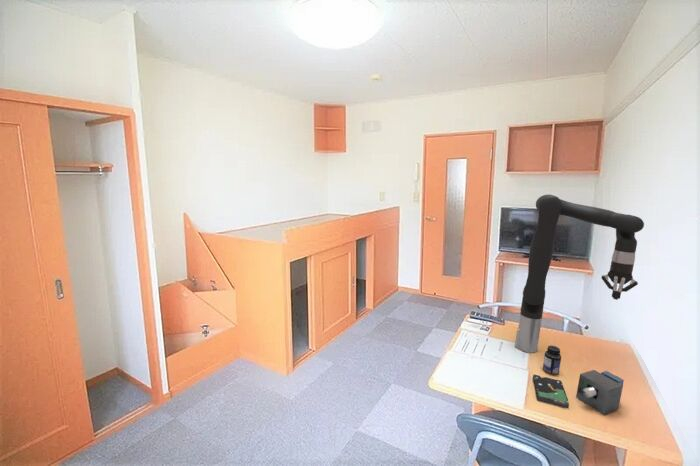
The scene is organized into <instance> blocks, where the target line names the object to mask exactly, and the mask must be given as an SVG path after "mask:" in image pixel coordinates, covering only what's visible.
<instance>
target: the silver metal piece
mask: <svg viewBox="0 0 700 466" xmlns="http://www.w3.org/2000/svg"><path fill="white" fill-rule="evenodd" d="M600 373H601V374H603V375H605V376H606V377H608V378H610V379H612V380H614V381H616V382H617V383H619V384H621V385H623V386H624V381H625V379H623V378H620V377H619V376H617V375H615V374H613V373H612V372H610V371H608V370H605V371H602V372H600ZM582 393H583V395H584V396H585V397H587V398H590V397H593V396H596V395H597V394H598V390H597V389H596V388H594V387H588V388H585V389H583V390H582Z"/></svg>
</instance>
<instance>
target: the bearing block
mask: <svg viewBox="0 0 700 466" xmlns="http://www.w3.org/2000/svg"><path fill="white" fill-rule="evenodd" d="M578 378H579V379H578V385H577V390H576V397H575V398H576V399H578V400H580V401H582V402H583V403H584V404H586V405H587V406H589V407H590V408H592V409H594V410H595V411H597V412H598V413H600V415H603V416H605V414H606V415H608V414H611V413H614V412H616V411H619V407H620V402H621V397H622V393H623V387H624V384H623V385H621V384H619V383H617V382H616V381H614V380H612V379H610V378H608V377H606V376H605V375H603V374H601V372H599V371H598V370H595V369H593V370H589V371H585V372H582V373H580V374H579V377H578ZM588 387H594V388H596V389H597V390H598V394H597V395H596V396H593V397H590V398H587V397H585V396H584V395H583V393H582V390H583V389H585V388H588Z"/></svg>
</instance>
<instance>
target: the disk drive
mask: <svg viewBox="0 0 700 466" xmlns="http://www.w3.org/2000/svg"><path fill="white" fill-rule="evenodd" d="M532 382H533V387H534V391H535V397H536V401H537V402H540V403H545V404H547V405H553V406H557V407H560V408H564V409H567V408H568V409H569V407H570V404H569V399H568V396H567V393H566V391H565V387H564V383H563V381H562V380H559V379H555V378H551V377H546V376H545V377H544V376H543V377H541V376H540V375H538V374H533V375H532Z"/></svg>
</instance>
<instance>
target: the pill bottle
mask: <svg viewBox="0 0 700 466" xmlns="http://www.w3.org/2000/svg"><path fill="white" fill-rule="evenodd" d="M561 362H562V355H561V348H559V347H558V346H556V345H552V344H551V345H548V346H547V350H546V351H544V355H543V364H542V370H543V371H544V372H545V373H546V374H548V375H553V376H556V375H559V373H560V369H561Z"/></svg>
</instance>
